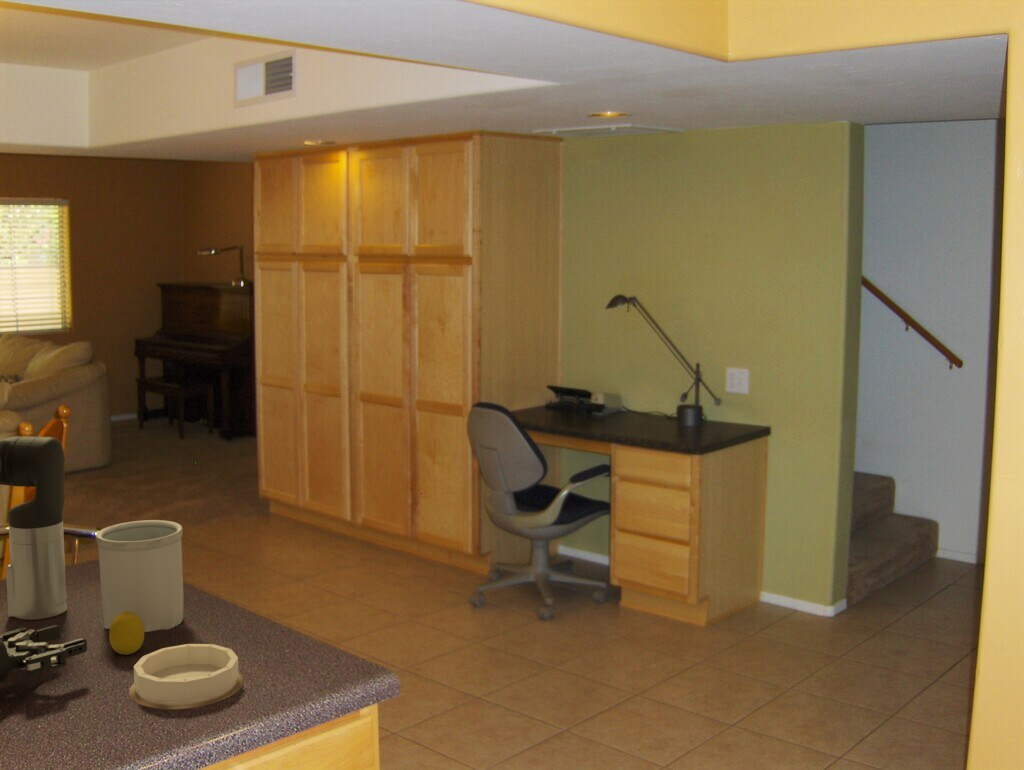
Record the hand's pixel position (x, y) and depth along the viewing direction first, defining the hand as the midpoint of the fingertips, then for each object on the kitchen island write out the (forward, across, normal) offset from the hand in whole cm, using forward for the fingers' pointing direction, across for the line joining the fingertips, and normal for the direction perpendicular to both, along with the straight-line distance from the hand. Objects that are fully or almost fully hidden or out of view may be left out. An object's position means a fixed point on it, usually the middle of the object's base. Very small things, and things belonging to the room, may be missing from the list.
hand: (72, 637), depth 172 cm
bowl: (+8, -19, +5) cm, 22 cm away
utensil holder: (+20, +12, +6) cm, 24 cm away
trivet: (+8, -19, +6) cm, 22 cm away
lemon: (+9, 0, +6) cm, 11 cm away
